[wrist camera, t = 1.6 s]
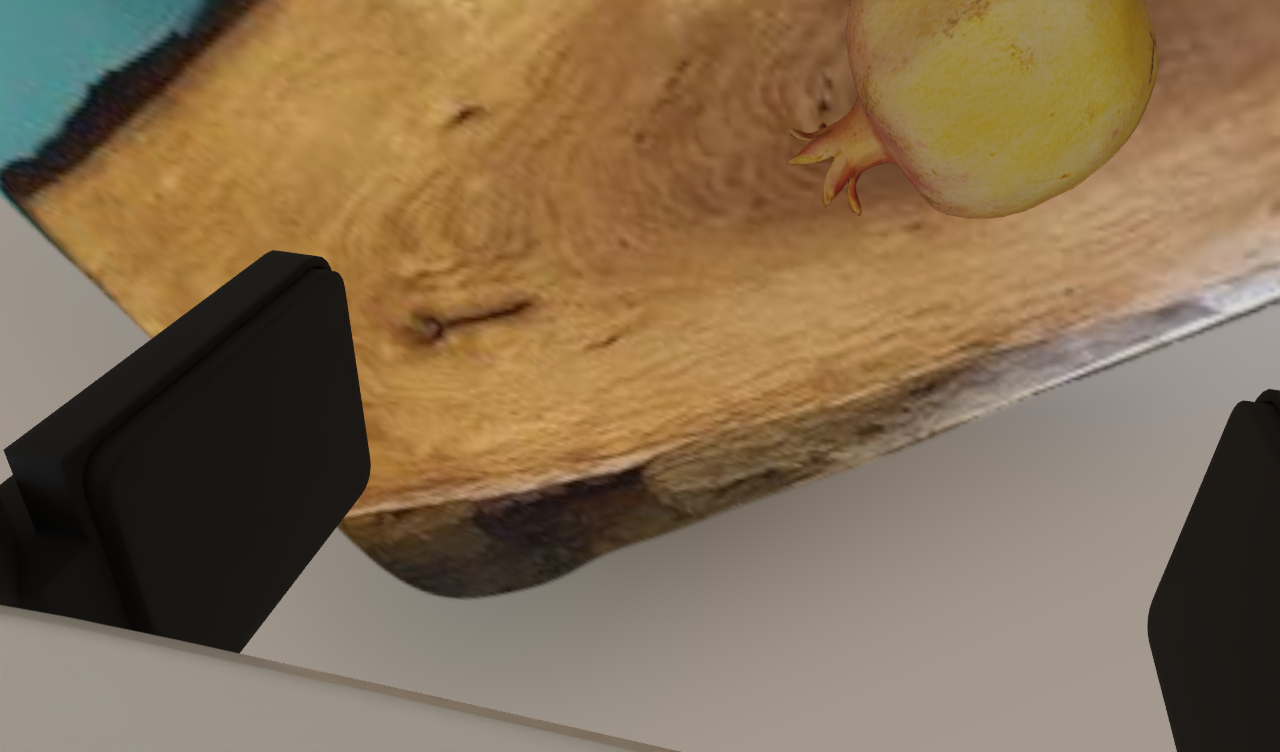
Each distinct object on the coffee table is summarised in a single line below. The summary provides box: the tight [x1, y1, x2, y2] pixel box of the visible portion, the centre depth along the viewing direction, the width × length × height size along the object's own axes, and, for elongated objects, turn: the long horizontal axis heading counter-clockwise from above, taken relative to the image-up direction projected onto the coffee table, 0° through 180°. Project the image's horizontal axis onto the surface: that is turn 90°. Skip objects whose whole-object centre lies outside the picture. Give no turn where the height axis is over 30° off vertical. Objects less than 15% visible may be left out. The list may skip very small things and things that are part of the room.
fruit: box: [787, 0, 1158, 218], centre depth 23 cm, size 7×7×10 cm
